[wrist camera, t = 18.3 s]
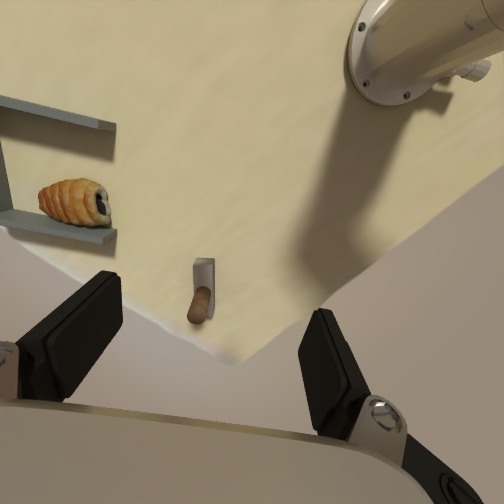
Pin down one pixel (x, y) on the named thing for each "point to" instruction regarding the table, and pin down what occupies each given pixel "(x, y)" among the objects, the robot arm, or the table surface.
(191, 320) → the stamp with brown handle
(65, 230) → the u-shaped bracket
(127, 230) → the table surface
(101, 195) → the pastry
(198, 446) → the robot arm
